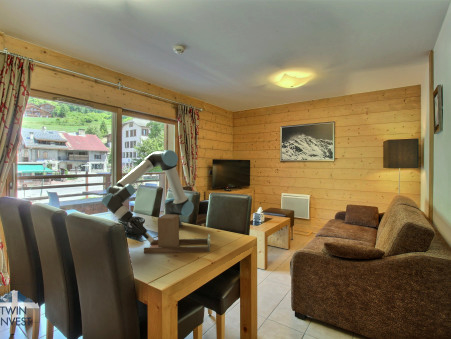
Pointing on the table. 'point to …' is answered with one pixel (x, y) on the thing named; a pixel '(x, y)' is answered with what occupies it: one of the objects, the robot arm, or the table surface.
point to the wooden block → (168, 231)
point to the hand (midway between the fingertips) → (152, 241)
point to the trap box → (156, 249)
